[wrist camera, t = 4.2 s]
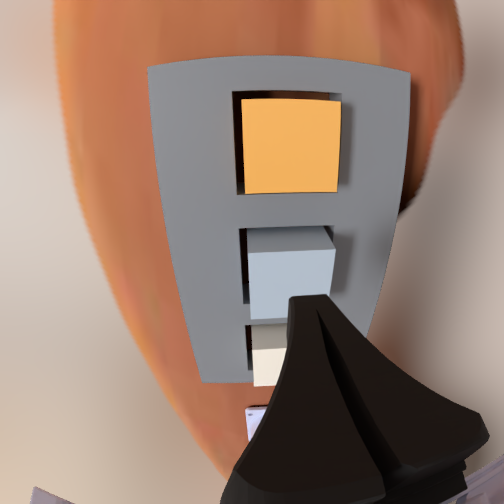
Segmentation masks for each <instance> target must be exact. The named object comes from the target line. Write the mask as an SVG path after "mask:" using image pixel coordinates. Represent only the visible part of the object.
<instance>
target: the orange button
mask: <svg viewBox="0 0 504 504" xmlns="http://www.w3.org/2000/svg"><path fill="white" fill-rule="evenodd" d="M340 120H341V102H338V101H326V100H308V99H242V125H243V150H244V175H245V194H252V193H285V192H337V182H338V166H339V148H340Z"/></svg>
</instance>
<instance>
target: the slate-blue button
mask: <svg viewBox="0 0 504 504" xmlns="http://www.w3.org/2000/svg"><path fill="white" fill-rule="evenodd" d="M247 245H248V268H249V290H250V312H251V319H269V318H286V317H288V301H289V298H290V297H292V296H302V295H317V294H327V295H328V296H329V294H330V287H331V281H332V274H333V267H334V260H335V253H336V249H335V247H334V245H333V243H332V241H331V239H330V238H329V236H328V234H327V232H326V231H325V229H324V227H323V226H295V227H267V228H247Z"/></svg>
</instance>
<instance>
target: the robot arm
mask: <svg viewBox="0 0 504 504" xmlns="http://www.w3.org/2000/svg"><path fill="white" fill-rule="evenodd" d="M286 337H287V348H286V353H285V357H284V361H283V365H282V368H281V371H280V375H279V378H278V381H277V383H276V386H275V389H274V391H273V394H272V397H271V399H270V402H269V404H268V406H267V407H249V408H247V409H246V421H247V429H248V438H249V444H248V445H247V447H246V449H245V450H244V452H243V453H242V455H241V457H240V458H239V460H238V461H237V463H236V464H235V466H234V468H233V471H232V473H231V476H230V478H229V480H228V482H227V485H226V487H225V489H224V492H223V494H222V497H221V500H220V504H448V503H450V502H452V501H454V500H456V499H457V501H456V504H504V454H503V455H502V456H500V457H499V458H497V459H496V460H494V461H493V462H491V463H489V464H488V465H486V466H485V467H483V468H481V469H480V470H478V471H476V472H475V473H473V474H471V475H470V476H468V477H466V478H464V475H463V472H462V471H464V470H465V469H466V464H465V461H464V460H465V459H466V458H468V457H469V456H470V455H472V454H473V453H474V452H476V451H477V450H478V449H479V448H481V447H482V446H483V445H484V444H485V443H486V442H487V441H488V439H489V436H490V435H489V433H488V431H487V428H486V427H485V424H484V422H483V420H482V417H481V416H480V414H479V413H477V412H475V411H473V410H470V409H468V408H466V407H463V406H461V405H459V404H457V403H454V402H452V401H450V400H449V399H447V398H445V397H443V396H441V395H439V394H437V393H435V392H434V391H432V390H430V389H429V388H427V387H426V386H424V385H423V384H421V383H420V382H418V381H417V380H415V379H414V378H412V377H411V376H409V375H408V374H407V373H405V372H404V371H402V370H401V369H400V368H399V367H397V366H396V365H395V364H394V363H393V362H391V361H390V360H389V359H387V358H386V357H385V356H384V355H383V354H382V353H381V352H380V351H379V350H378V349H377V348H376V347H375V346H373V345H372V344H371V343H370V342H369V341H368V340H367V339H366V338H365V337H364V336H363V334H362V333H361V332H360V331H359V330H358V329H357V328H356V327H355V326H354V325H353V324H352V323H351V322H350V321H349V319H348V318H347V317H346V316H345V315H344V314H343V313H342V311H341V310H340V309H339V308H338V307H337V306H336V304H335V303H334V302H333V301H332V300H331V299H330V297H329V296H328V295H327V294H317V295H302V296H292V297H290V298H289V301H288V318H287V332H286ZM30 504H74V503H71V502H69V501H67V500H64V499H62V498H60V497H58V496H55V495H53V494H50V493H49V492H46V491H44V490H42V489H40V488H38V487H34V488H33V492H32V496H31V501H30Z"/></svg>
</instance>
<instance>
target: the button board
mask: <svg viewBox="0 0 504 504" xmlns="http://www.w3.org/2000/svg"><path fill="white" fill-rule="evenodd" d="M147 68H148V86H149V100H150V112H151V123H152V133H153V143H154V151H155V159H156V167H157V175H158V182H159V189H160V196H161V202H162V208H163V214H164V220H165V226H166V232H167V237H168V243H169V248H170V253H171V258H172V263H173V268H174V273H175V278H176V282H177V287H178V291H179V296H180V300H181V304H182V309H183V313H184V317H185V321H186V325H187V329H188V333H189V337H190V341H191V344H192V348H193V352H194V356H195V359H196V363H197V366H198V370H199V373H200V377H201V380H202V383H243V382H254V374H253V354H252V350H247V339H246V325H259V324H278V323H287V318H288V317H286V318H269V319H251V312H250V290H249V283H245V284H243V275H242V259H241V241H240V228H261V227H288V226H320V225H324V226H323V227H324V229H325V231H326V232H327V234H328V236H329V238H330V239H331V241H332V243H333V245H334V247H335V249H336V253H335V260H334V267H333V274H332V281H331V287H330V294H329V297H330V299H331V300H332V301H333V302H334V303H335V304H336V306H337V307H338V308H339V309H340V310H341V311H342V313H343V314H344V315H345V316H346V317H347V318H348V319H349V321H350V322H351V323H352V324H353V325H354V326H355V327H356V328H357V329H358V330H359V331H360V332H361V333H362V334H363V336H364V337H365V338H366V337H367V334H368V331H369V327H370V324H371V321H372V318H373V315H374V311H375V308H376V305H377V301H378V298H379V294H380V291H381V287H382V283H383V279H384V275H385V271H386V267H387V263H388V259H389V255H390V251H391V246H392V241H393V237H394V232H395V226H396V221H397V216H398V210H399V205H400V199H401V192H402V185H403V178H404V170H405V162H406V153H407V142H408V130H409V114H410V73H409V72H405V71H401V70H396V69H391V68H387V67H382V66H376V65H371V64H365V63H359V62H352V61H344V60H336V59H327V58H316V57H301V56H231V57H216V58H205V59H196V60H188V61H180V62H173V63H167V64H161V65H155V66H150V67H147ZM249 91H296V92H317V93H329V101H338V102H341V120H340V148H339V166H338V182H337V192H285V193H252V194H245V183H237V166H236V146H235V124H234V101H233V92H249Z"/></svg>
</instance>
